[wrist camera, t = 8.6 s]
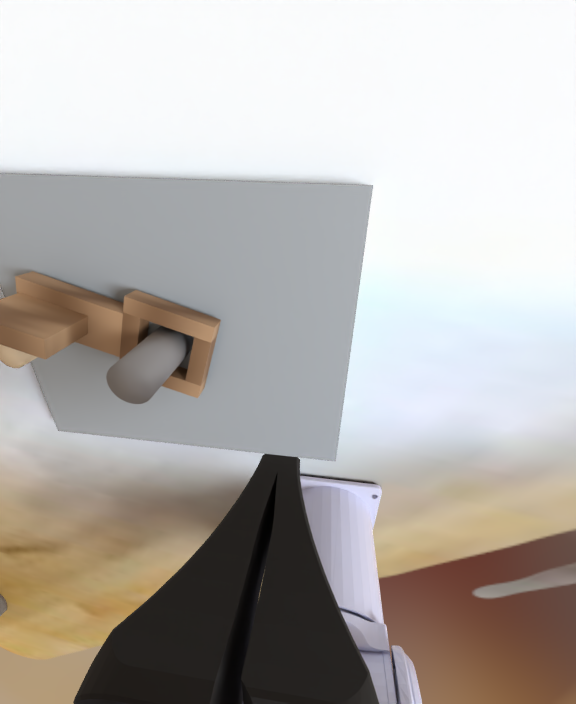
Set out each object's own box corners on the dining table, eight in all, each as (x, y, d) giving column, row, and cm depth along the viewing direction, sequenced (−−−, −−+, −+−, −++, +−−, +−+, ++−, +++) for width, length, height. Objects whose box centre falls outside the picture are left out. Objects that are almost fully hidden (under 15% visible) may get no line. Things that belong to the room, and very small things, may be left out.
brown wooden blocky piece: (221, 319, 19) (192, 354, 15) (204, 387, 21) (176, 432, 17) (31, 253, 18) (-49, 271, 14) (36, 330, 21) (-31, 364, 17)
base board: (335, 449, 25) (336, 528, 19) (68, 420, 27) (-2, 484, 21) (370, 185, 16) (391, 185, 11) (-24, 172, 18) (-183, 166, 12)
